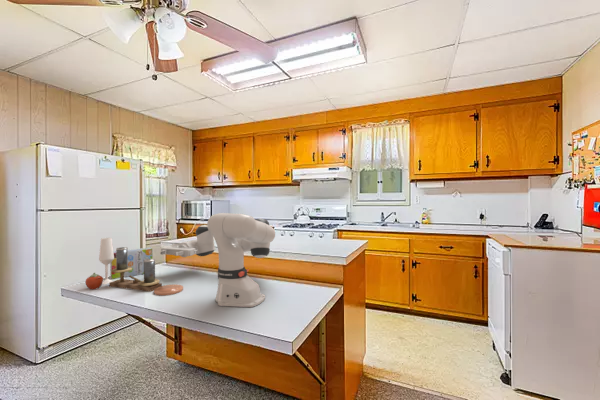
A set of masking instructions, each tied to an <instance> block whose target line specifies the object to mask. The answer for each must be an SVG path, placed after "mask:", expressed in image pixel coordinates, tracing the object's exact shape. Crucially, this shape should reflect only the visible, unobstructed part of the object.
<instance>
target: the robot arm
mask: <svg viewBox="0 0 600 400" xmlns="http://www.w3.org/2000/svg"><path fill="white" fill-rule="evenodd" d="M194 231H195V235H196V239H193V240H190V241H189V240H188V241H182V242H175V243H172V244H169V245H165V246H162V247H161V248H160V252H159V253H160V255H169V256H171V255H172V256H175V257H177V256H179V257H182V258H187V257H192V256H194V255H196V256H198V257H206V256H210V255H212V254H213V253H214V252H215V250H216V249H215V243H216V247H217V252H218V268H217V279H218V283H217V285H218V286H217V291H216V296H215V299H214V300H215V302H216V303H217V306H220V307H221V306H222V307H238V308H239V307H241V308H243V307H244V308H252V307H255V306H256V307H257V306H258V305H260V304H262V303H263V302H264V301H265V300H266V295H265V294H263V293H261V289H260V285H259V284H258V282H256V281H255V280H254V279H252V277H250V276H249V275H248V272H249V270H250V268H248V269H246V267H245V265H244V263H245V260H244V258H245V257H244V256H245V255H244V254H245V252H250V254H251V256H253V257H254V258H257V259H262V258H265V257H267V256H269V254H270V250H271V249H270V246H271V245H270V244H271V242H273V241H274V239H275V237H276V231H275V229H274V228H273V227H272V226H271V225H270V223H269V221H268V220H267V219H265V218H260V217H259V218H254V217H253V216H251V215H248V214H244V213H231V212H219V213H215V214H213V215H211V216H210V217H209V218H208V220H207V224H204V225H203V224H202V225H199V226H198V227H197V228H196V230H194Z"/></svg>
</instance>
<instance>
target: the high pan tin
mask: <svg viewBox="0 0 600 400" xmlns="http://www.w3.org/2000/svg"><path fill="white" fill-rule="evenodd" d="M128 250H129V249H128V247H127V246H126V247H123V246H121V247H116V250H115V251H116V270H126V269H128Z"/></svg>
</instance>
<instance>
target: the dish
mask: <svg viewBox="0 0 600 400" xmlns="http://www.w3.org/2000/svg"><path fill="white" fill-rule="evenodd" d="M183 291H184V286H183V285H181V284H178V283H177V284H176V283H175V284H173V283H172V284H166V285H162V286H160V287H158V288H156V289H155V290H154V291H153V294H154V295H156V296H172V295H175V294H176V295H177V294H179V293H180V292H183Z"/></svg>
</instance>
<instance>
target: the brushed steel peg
mask: <svg viewBox="0 0 600 400" xmlns="http://www.w3.org/2000/svg"><path fill="white" fill-rule="evenodd" d="M155 279H156V259H155V258H153V259H146V260H144V274H143V281H144V283H152V282H155Z"/></svg>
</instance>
